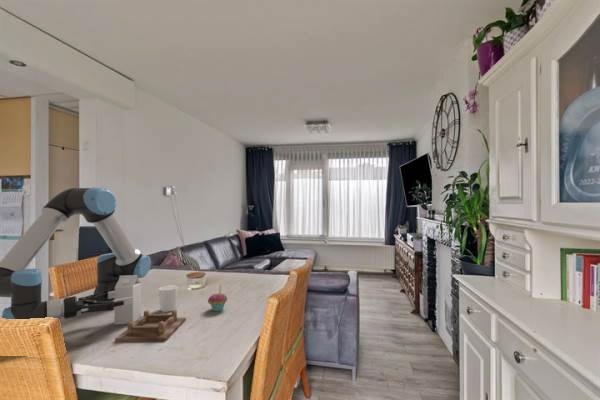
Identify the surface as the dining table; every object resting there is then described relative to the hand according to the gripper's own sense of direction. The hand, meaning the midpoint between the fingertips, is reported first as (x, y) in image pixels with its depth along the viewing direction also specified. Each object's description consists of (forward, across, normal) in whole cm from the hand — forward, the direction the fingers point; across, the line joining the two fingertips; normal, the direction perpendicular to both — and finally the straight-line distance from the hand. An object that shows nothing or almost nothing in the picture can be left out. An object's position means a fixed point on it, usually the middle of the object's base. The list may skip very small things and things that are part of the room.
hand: (129, 296), depth 118 cm
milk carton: (0, 0, -11) cm, 11 cm away
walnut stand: (+5, +16, -10) cm, 20 cm away
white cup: (+16, -3, -11) cm, 20 cm away
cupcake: (+33, +13, -11) cm, 37 cm away
